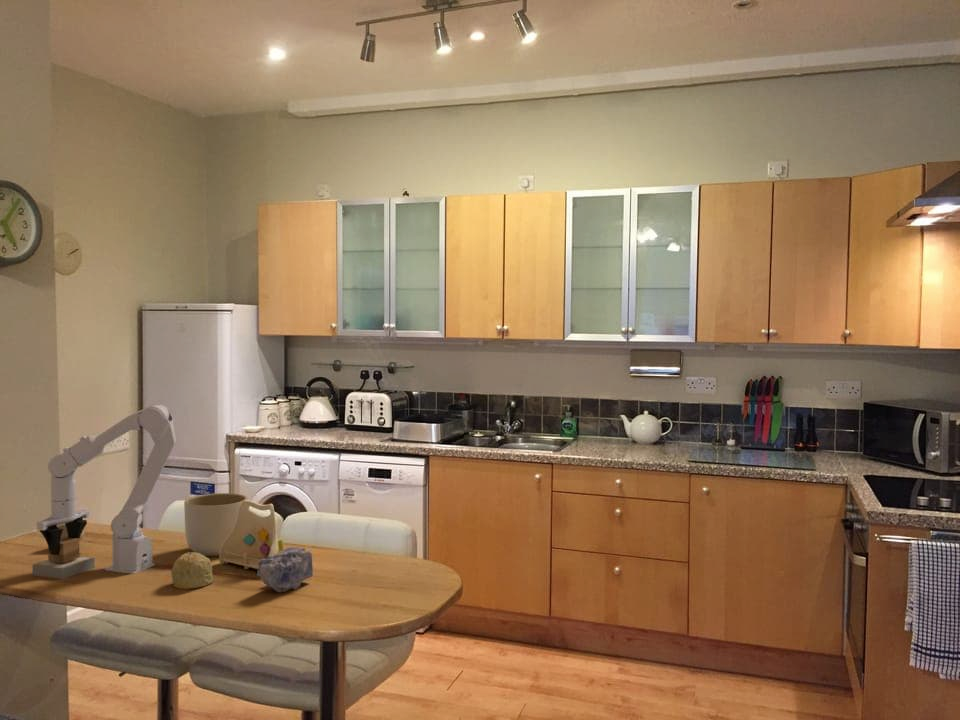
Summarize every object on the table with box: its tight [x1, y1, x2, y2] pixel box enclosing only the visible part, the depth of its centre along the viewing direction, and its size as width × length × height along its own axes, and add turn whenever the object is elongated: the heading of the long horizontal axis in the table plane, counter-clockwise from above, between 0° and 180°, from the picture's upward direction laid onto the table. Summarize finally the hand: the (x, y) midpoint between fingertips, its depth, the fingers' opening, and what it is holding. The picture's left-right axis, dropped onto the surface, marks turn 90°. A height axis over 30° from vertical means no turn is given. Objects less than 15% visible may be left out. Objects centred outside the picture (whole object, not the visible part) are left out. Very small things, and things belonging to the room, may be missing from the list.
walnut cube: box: [47, 537, 80, 563], centre depth 195 cm, size 5×5×5 cm
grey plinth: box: [31, 555, 96, 580], centre depth 195 cm, size 10×10×3 cm
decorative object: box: [170, 551, 214, 590], centre depth 185 cm, size 9×10×10 cm
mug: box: [57, 524, 85, 542], centre depth 217 cm, size 8×10×10 cm
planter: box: [183, 492, 248, 557], centre depth 215 cm, size 17×17×15 cm
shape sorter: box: [218, 499, 284, 570], centre depth 201 cm, size 20×10×18 cm, turn 58°
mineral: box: [256, 546, 314, 593], centre depth 182 cm, size 14×10×10 cm, turn 157°
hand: (64, 551), depth 195 cm, fingers open, 5 cm apart
